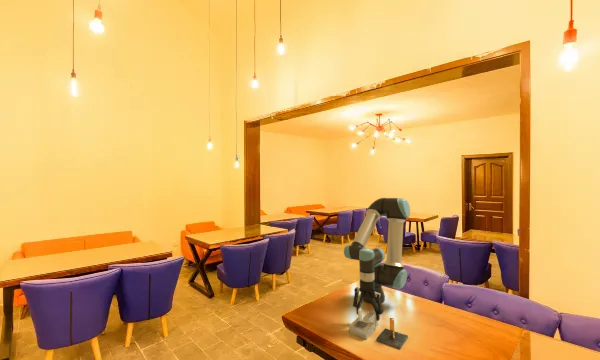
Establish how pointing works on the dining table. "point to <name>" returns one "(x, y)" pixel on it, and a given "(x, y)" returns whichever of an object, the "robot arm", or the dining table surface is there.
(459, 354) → the dining table surface
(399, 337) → the peg on square plate
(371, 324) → the square loop with stem
